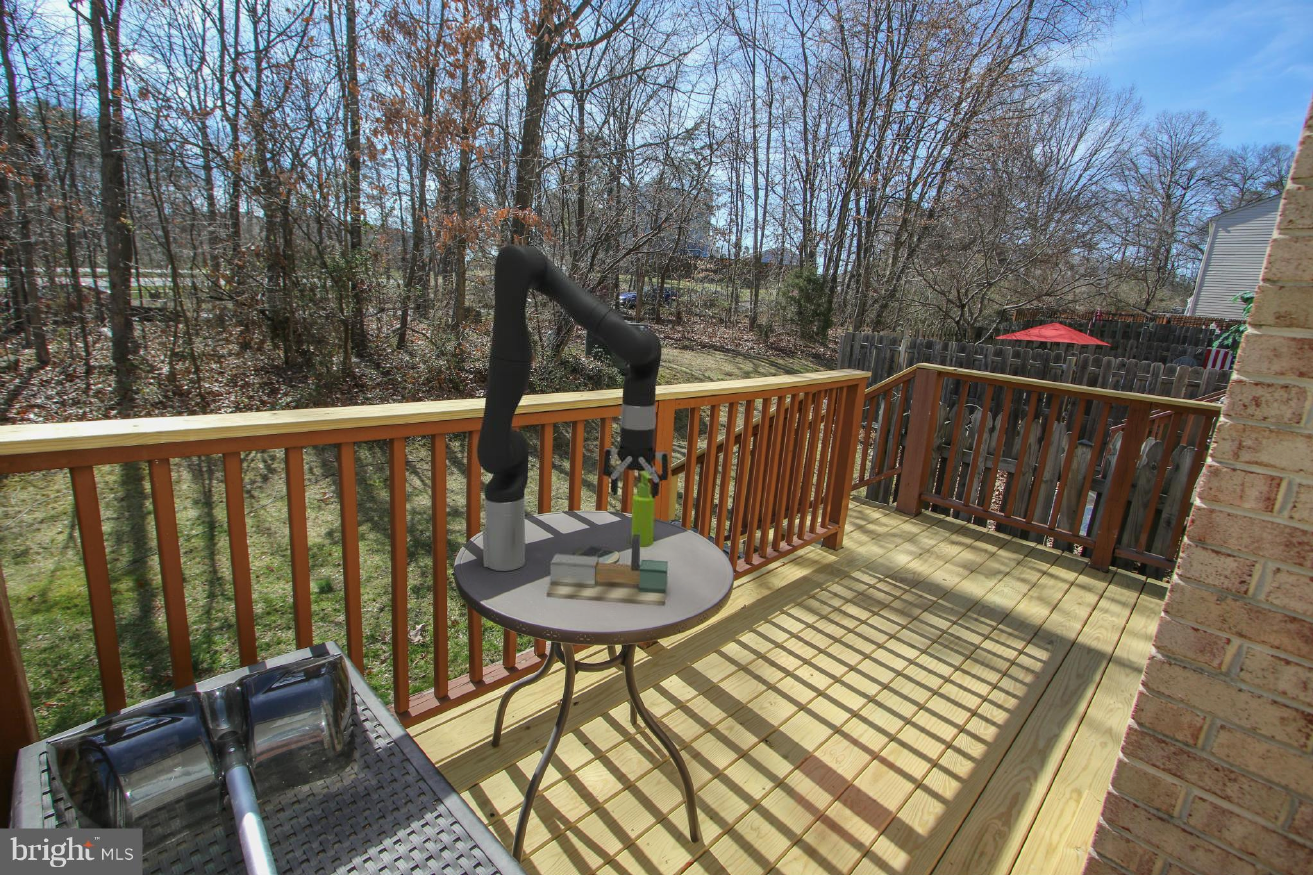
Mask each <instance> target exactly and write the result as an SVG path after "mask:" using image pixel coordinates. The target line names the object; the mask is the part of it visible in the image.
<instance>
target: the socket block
mask: <svg viewBox="0 0 1313 875" xmlns="http://www.w3.org/2000/svg"><path fill="white" fill-rule="evenodd" d="M668 562H669V561H666V560H652V559H641V560H640V569H639V592H649V593H662V594H665V593H666V594H667V589H666V586H667V587H668V581H667V577H668V568H669V566H668V565H669V564H668Z"/></svg>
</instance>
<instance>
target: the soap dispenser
mask: <svg viewBox="0 0 1313 875" xmlns="http://www.w3.org/2000/svg"><path fill="white" fill-rule="evenodd" d="M638 472H639V474H640V482H639V483H638V484H637V493H635V494H634V495H633V496H632V508H631V509H632V511H631V536H630V538H631V539H630V540H631V541H630V543H631V544H632V538H633V535H634V534H639V535H641V540H640V548H642V547H643V548H645V547H647V548H648V547H651V546H652V545H653V544H654V526H655V525H654V523H655V502H656V501H655V499H656V497H655V498H652V493H651V487H652V486H651V483H649V482H648V480H653V479H652V477H651V476H650V475H649V474H648V473H647V471H646V470H643V471H638Z"/></svg>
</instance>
